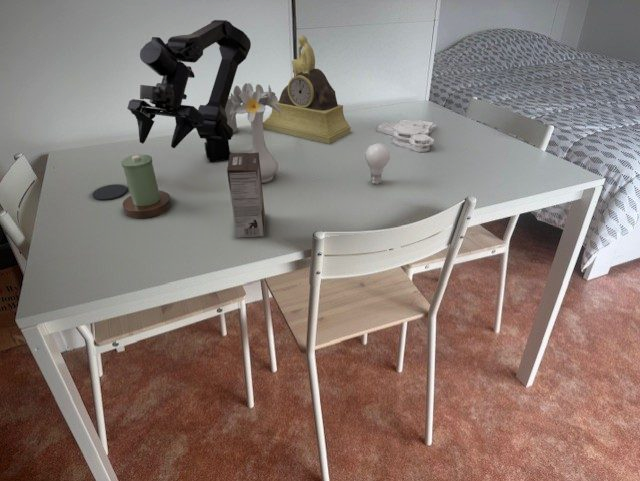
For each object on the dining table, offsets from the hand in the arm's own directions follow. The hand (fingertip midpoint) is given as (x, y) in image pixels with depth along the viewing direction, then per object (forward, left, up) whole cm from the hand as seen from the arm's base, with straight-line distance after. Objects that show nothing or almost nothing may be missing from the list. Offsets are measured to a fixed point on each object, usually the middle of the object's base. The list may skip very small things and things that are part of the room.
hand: (156, 145), depth 110 cm
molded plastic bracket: (-79, -14, -13) cm, 81 cm away
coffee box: (-17, +25, -13) cm, 33 cm away
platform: (+5, +7, -13) cm, 15 cm away
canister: (+5, +7, -11) cm, 14 cm away
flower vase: (-25, 0, -13) cm, 28 cm away
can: (-23, -41, -13) cm, 49 cm away
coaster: (+14, -5, -13) cm, 20 cm away
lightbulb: (-53, +15, -13) cm, 56 cm away
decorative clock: (-49, -32, -13) cm, 60 cm away
